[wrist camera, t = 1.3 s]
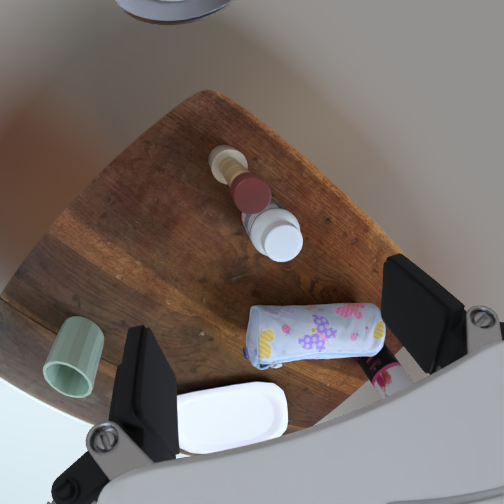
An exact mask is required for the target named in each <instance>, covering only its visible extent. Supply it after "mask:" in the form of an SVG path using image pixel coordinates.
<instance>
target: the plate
mask: <svg viewBox="0 0 504 504" xmlns="http://www.w3.org/2000/svg"><path fill="white" fill-rule="evenodd" d="M177 412H178V434H179V447H180V448H181V449H184V450H186V451H188V452H190V453H200V454H207V453H212V452H217V451H222V450H227V449H232V448H236V447H241V446H245V445H250V444H254V443H258V442H262V441H265V440H269V439H273V438H277V437H280V436H281V435H282V434H283V433H284V431H285V430H286V428H287V423H288V411H287V401H286V398H285V395H284V391H283V390H282V389H281V388H280V387H279V386H277V385H276V384H275V383H272V382H261V381H254V382H246V383H238V384H232V385H226V386H221V387H215V388H209V389H204V390H198V391H192V392H188V393H183V394H179V395H177Z"/></svg>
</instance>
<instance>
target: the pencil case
mask: <svg viewBox="0 0 504 504" xmlns="http://www.w3.org/2000/svg"><path fill="white" fill-rule="evenodd" d="M384 339H385V323H384V322H383V320H382V318H381V311H380V309H379V308H378V307H377V306H375V305H374V304H372V303H334V304H320V305H306V306H301V305H291V306H265V305H254V306H252V307H251V309H250V316H249V323H248V329H247V335H246V348H247V350H246V349H245V348H243V352H244V357H245V358H246V359H248V360H250V362H251V363H252V365H253V366H255V367H256V368H258V369H260V370H264V369H266V368H268V367H271V368H279V367H281V366H283V365H282V364H280V363H282V362H289V361H294V360H302V359H331V358H343V357H357V356H369V357H371V356H374V355H376V354H377V353H378V352H379V351H380V350H381V348H382V347H383V345H384Z"/></svg>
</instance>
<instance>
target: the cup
mask: <svg viewBox="0 0 504 504" xmlns="http://www.w3.org/2000/svg"><path fill="white" fill-rule="evenodd" d="M103 346H104V335H103V333H102V331H101V329H100V328H99V327H98V326H97V325H96V324H95V323H94V322H92V321H91V320H89V319H87V318H84V317H79V316H74V317H70V318H68V319H66V320H65V321H64V323H63V324H62V326H61V328H60V330H59V333H58V335H57V337H56V339H55V341H54V344H53V346H52V348H51V350H50V353H49V355H48V357H47V360H46V362H45V364H44V368H43V374H44V377H45V379H46V381H47V382H48V383H49V384H50V385H51V387H53V388H54V389H56V390H57V391H58V392H60V393H62V394H64V395H67V396H70V397H75V398H82V397H86V396H88V395H89V394H91V391H92V389H93V385H94V380H95V376H96V372H97V368H98V364H99V360H100V357H101V353H102V349H103Z"/></svg>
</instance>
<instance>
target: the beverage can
mask: <svg viewBox="0 0 504 504" xmlns="http://www.w3.org/2000/svg"><path fill="white" fill-rule="evenodd" d="M359 363H360V366H361V367H362V369H363V370H364V372H365V374H366V375H367V377H368V378H369V380H370V381H371V383H372V384H373V386H374V388H375V389H376V391H377V392H378V394H379V396H380V397H381V399H383V398H386V397H388V396H390V395H392V394H394V393H396V392H398V391H400V390H403V389H405V388H407V387H409V386H411V385H413V384H414V382H413V380H412V379H411V378H410V376H409V375H408V374H407V372H406V371H405V370H404V368H403V367H402V366H401V364H400V363H399V362H398V360H397V359H396V358H395V356H394V355H393V354H392V352H391V351H390V350H389V349H388V347H387V346H386V345H385V344H384V345H383V347H382V348H381V350H380V351H379V352H378V353H377V354H376V355H374V356H371V357H369V356H361V358H360V361H359Z"/></svg>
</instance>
